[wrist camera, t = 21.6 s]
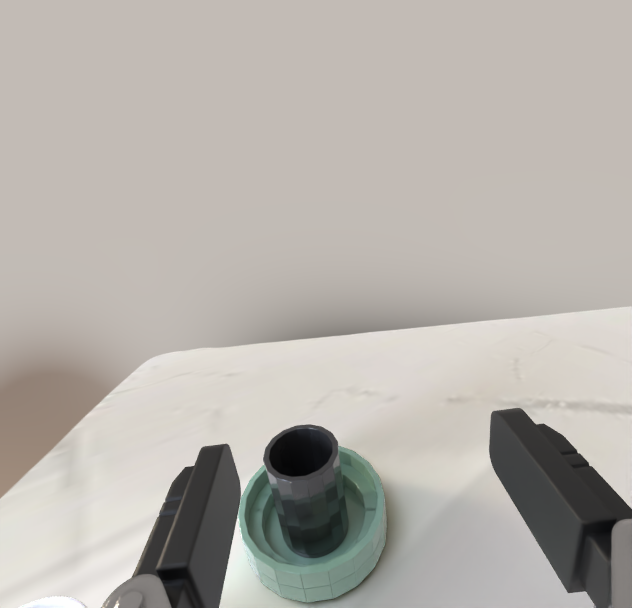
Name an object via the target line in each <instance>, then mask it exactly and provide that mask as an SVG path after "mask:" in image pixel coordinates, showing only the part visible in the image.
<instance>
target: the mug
mask: <svg viewBox="0 0 632 608" xmlns="http://www.w3.org/2000/svg"><path fill="white" fill-rule="evenodd" d="M19 608H87V607H86V606H85V605H84V604H83V603H82V602H80V601H79V600H77V599H74V598H71V597H65V596H54V597H47V598H43V599H39V600H36V601H33V602H30V603H28V604H26V605H23V606H21V607H19Z"/></svg>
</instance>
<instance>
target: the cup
mask: <svg viewBox="0 0 632 608" xmlns="http://www.w3.org/2000/svg"><path fill="white" fill-rule="evenodd" d="M263 461H264V465H265V469H266V473H267V477H268V481H269V485H270V489H271V493H272V497H273V501H274V505H275V510H276V514H277V518H278V522H279V526H280V529H281V532H282V536H283V539H284V542H285V544H286V545H287V547H288V548H289V549H290V550H291V551H292V552H294V553H295V554H297V555H299V556H301V557H305V558H319V557H323V556H326V555H328V554H330V553H331V552H333V551H334V550H336V549H337V548H338V547H339V546H340V545H341V543H342V542H343V541H344V539H345V537H346V535H347V532H348V528H349V518H348V508H347V502H346V495H345V488H344V481H343V474H342V467H341V461H340V454H339V447H338V441H337V440H336V438H335V437H334V435H333V434H332V433H331V432H330V431H328V430H326V429H325V428H323V427H320V426H315V425H299V426H294V427H291V428H289V429H286V430H284V431H282V432H281V433H279V434H278V435H277V436H275V437H274V438H273V439H272V440H271V441H270V443H269V444H268V446H267V447H266V449H265V453H264V458H263Z"/></svg>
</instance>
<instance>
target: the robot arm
mask: <svg viewBox="0 0 632 608" xmlns="http://www.w3.org/2000/svg"><path fill="white" fill-rule="evenodd" d="M489 453H490V459H491V463H492V466H493V468H494V470H495V472H496V474H497V476H498V478H499V479H500V481H501V483H502V484H503V486H504V487H505V489H506V491H507V492H508V494H509V496H510V497H511V499H512V501H513V502H514V504H515V506H516V507H517V509H518V511H519V512H520V514H521V516H522V517H523V519H524V521H525V522H526V524H527V526H528V527H529V529H530V531H531V532H532V534H533V536H534V537H535V539H536V541H537V542H538V544H539V546H540V547H541V549H542V550H543V552H544V554H545V555H546V557H547V559H548V560H549V562H550V564H551V565H552V567H553V569H554V570H555V572H556V574H557V575H558V577H559V579H560V580H561V582H562V584H563V585H564V587H565V589H566V590H567V592H568V593H574V592H583V591H586V592H587V594H588V595H589V597H590V598H591V600H592V601H593V603H594V604H595V605H594V608H632V509H631V508H630V507H629V506H628V505H627V504H626V503H625V501H624V500H623V499H622V498H621V497H620V496H619V495H618V494H617V493H616V492H615V491H614V490H613V489H612V488H611V486H610V485H609V484H608V483H607V482H606V481H605V480H604V479H603V478H602V477H601V476H600V475H599V474H598V473H597V471H596V470H595V469H594V468H593V467H592V466H589V463H588V462H587V461H586V460H585V459H584V458H583V456H582V455H581V454H580V453H579V454H578V453H577V450H576V449H575V448H574V447H573V446H572V445H571V444H570V442H569V441H568V440H567V439H566V438H565V437H564V436H563V435H561V434H560V433H558V432H557V431H555V430H553V429H552V428H550V427H548V426H547V425H545V424H537V425H536V424H535V423H534V422H533V421H532V420H531V419H530V417H529V416H528V415H527V414H526V413H525V412H524V411H523V410H522V409H520V408H515V409H507V410H499V411H493V412H492V414H491V425H490V445H489ZM240 497H241V488H240V480H239V477H238V473H237V470H236V466H235V463H234V460H233V456H232V453H231V449H230V447H229V445H228V444H221V445H213V446H205V447H202V448H201V450H200V452H199V455H198V458H197V460H196V463H195V466H191V467H185V468H184V469H183V470H182V472H181V473H180V474H179V475H178V476H177V478H176V479H175V480H174V481H173V482H172V485H171V487H170V489H169V492H168V494H167V496H166V499H165V502H164V503H163V506H162V508H161V510H160V513H159V514H160V515H159V517H158V518H157V520H156V522H155V525H154V527H153V529H152V532H151V534H150V536H149V539H148V541H147V543H146V546H145V548H144V551H143V553H142V555H141V558H140V560H139V562H138V565H137V567H136V569H135V572H134V574H133V576H132V578H131V579H129V580H127V581H126V582H124V583H123V584H121V585H120V586H119V587H118V588H117V589H116V590H114V591H113V592H112V594H111V595H110V596H109V597H108V598H107V599H106V601H105V602H104V604H103V605H102V607H101V608H219V604H220V599H221V594H222V589H223V584H224V579H225V574H226V569H227V564H228V559H229V555H230V550H231V545H232V540H233V535H234V530H235V525H236V520H237V515H238V510H239V505H240Z"/></svg>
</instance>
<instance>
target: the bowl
mask: <svg viewBox="0 0 632 608" xmlns="http://www.w3.org/2000/svg"><path fill="white" fill-rule="evenodd" d="M338 447H339V454H340V461H341V467H342V474H343V481H344V488H345V495H346V502H347V508H348V518H349V528H348V532H347V535H346V537H345V539H344V541H343V542H342V543H341V545H340V546H339V547H338V548H337V549H336V550H334V551H333V552H331V553H330V554H328V555H326V556H323V557H319V558H305V557H301V556H299V555H297V554H295V553H294V552H292V551H291V550H290V549H289V548H288V547H287V545H286V544H285V542H284V539H283V536H282V532H281V529H280V526H279V522H278V518H277V514H276V510H275V505H274V501H273V497H272V493H271V489H270V485H269V481H268V477H267V473H266V469H265V465H263V466H262V467H261V468H260V469H259V471H258V472H257V473H256V474H255V475H254V476H253V477H252V478H251V480H250V481H249V483H248V485H247V487H246V489H245V491H244V493H243V495H242V497H241V502H240V508H239V514H238V522H239V527H240V532H241V537H242V541H243V544H244V547H245V550H246V554H247V557H248V560H249V563H250V566H251V567H252V569H253V570H254V572H255V573H256V575H257V576H258V578H259V579H260V581H261V583H262V584H263V585H265V586H266V587H268V588H269V589H271V590H272V591H274V592H275V593H277V594H278V595H279V596H281V597H283V598H288V599H292V600H297V601H301V602H306V603H307V602H315V601H322V600H328V599H333V598H336V597H338V596H340V595H342V594H344V593H345V592H347V591H349V590H351V589H353V588H355V587H357V586H358V585H359V584H360V583H361V582H362V581H363V579H364V578H365V577H366V576H367V575H368V574H369V573H370V572H371V571H372V570H373V569H374V568H375V566H376V564H377V561H378V559H379V557H380V555H381V552H382V550H383V548H384V546H385V541H386V529H387V517H386V506H385V496H384V492H383V488H382V485H381V481H380V478H379V476H378V474H377V473H376V472H375V470H374V469H373V467H372V466H371V465H370V463H369V462H368V461H367V460H365V459H364V458H362V457H361V456H360V455H358V454H357V453H356V452H354V451H352V450H349V449H346V448H344V447H341V446H338Z"/></svg>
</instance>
